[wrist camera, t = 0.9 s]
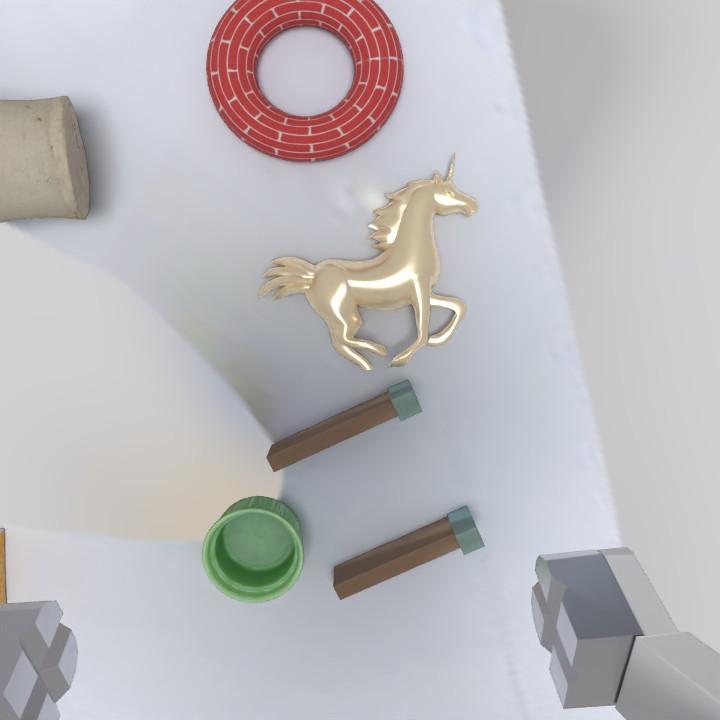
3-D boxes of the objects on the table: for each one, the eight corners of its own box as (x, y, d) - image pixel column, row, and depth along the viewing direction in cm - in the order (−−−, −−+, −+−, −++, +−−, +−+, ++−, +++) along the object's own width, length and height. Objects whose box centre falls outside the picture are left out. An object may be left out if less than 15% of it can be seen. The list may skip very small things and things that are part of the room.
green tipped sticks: (474, 523, 58) (485, 546, 54) (342, 581, 59) (341, 608, 54) (408, 379, 55) (412, 390, 51) (270, 442, 56) (263, 458, 52)
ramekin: (199, 558, 58) (187, 582, 54) (232, 475, 57) (222, 493, 53) (286, 590, 59) (281, 617, 55) (321, 510, 58) (318, 530, 53)
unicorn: (271, 391, 52) (232, 187, 50) (278, 384, 55) (242, 195, 54) (505, 350, 51) (474, 143, 49) (495, 347, 55) (466, 154, 53)
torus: (403, -13, 50) (407, -33, 47) (399, 166, 53) (403, 160, 49) (209, -17, 50) (198, -37, 46) (214, 163, 52) (204, 157, 49)
